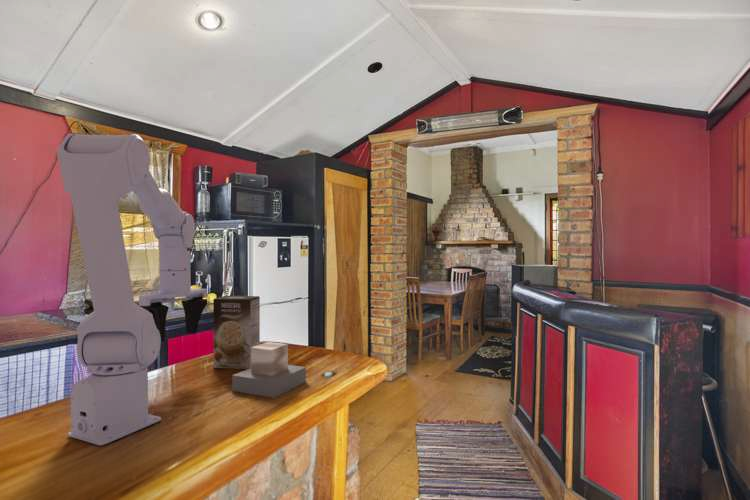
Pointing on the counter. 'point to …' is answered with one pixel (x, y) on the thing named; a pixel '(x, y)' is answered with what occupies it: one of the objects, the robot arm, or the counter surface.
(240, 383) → the base
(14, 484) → the counter surface
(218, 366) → the coffee box
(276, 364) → the cube
